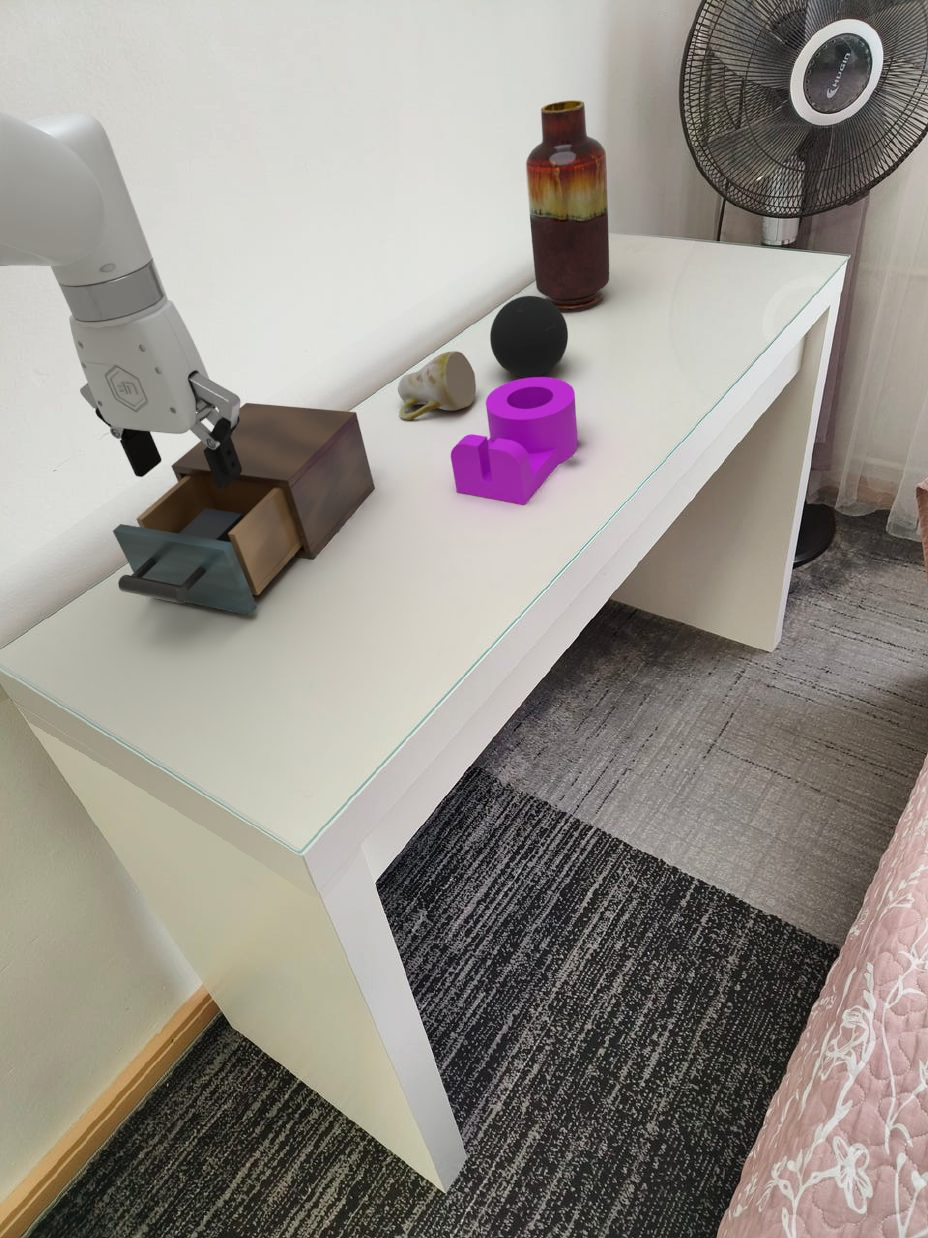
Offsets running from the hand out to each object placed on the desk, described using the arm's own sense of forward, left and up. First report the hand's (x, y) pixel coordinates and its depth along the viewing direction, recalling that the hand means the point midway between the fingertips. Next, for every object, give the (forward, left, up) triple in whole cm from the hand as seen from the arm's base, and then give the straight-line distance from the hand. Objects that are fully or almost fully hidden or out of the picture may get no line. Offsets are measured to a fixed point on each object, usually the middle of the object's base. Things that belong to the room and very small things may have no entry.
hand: (189, 474), depth 79 cm
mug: (+35, +15, -13) cm, 40 cm away
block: (0, 0, -10) cm, 10 cm away
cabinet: (+10, +6, -12) cm, 17 cm away
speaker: (+49, +13, -13) cm, 52 cm away
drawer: (-1, -1, -11) cm, 12 cm away
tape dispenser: (+35, -4, -13) cm, 37 cm away
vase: (+68, +28, -13) cm, 74 cm away
